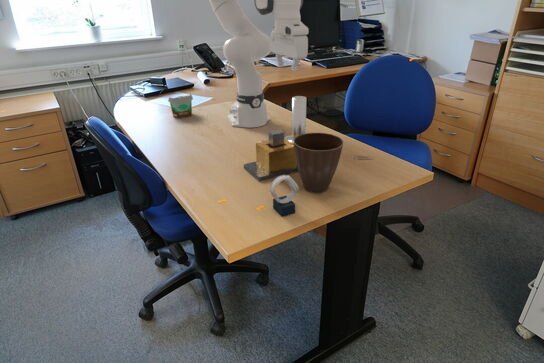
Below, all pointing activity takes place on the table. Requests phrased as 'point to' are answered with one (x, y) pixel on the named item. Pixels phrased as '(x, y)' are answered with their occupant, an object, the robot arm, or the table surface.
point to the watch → (284, 203)
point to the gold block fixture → (280, 148)
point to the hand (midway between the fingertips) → (287, 68)
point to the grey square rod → (276, 138)
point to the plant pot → (317, 159)
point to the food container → (181, 106)
